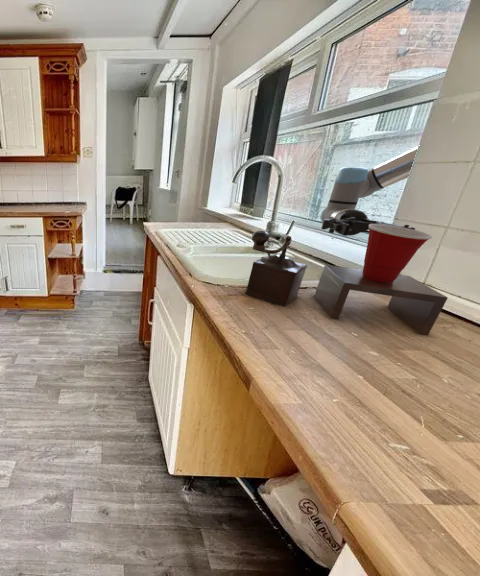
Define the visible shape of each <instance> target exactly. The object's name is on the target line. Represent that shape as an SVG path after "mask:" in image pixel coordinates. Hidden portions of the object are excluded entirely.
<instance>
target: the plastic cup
mask: <svg viewBox="0 0 480 576" xmlns="http://www.w3.org/2000/svg"><path fill="white" fill-rule="evenodd" d="M368 228H370V229H369V230H368V231H369V233H368V237H367V245H366V250H365V254H364V261H363V268H362V270H363V277H365V278H368V279H371V280H374V281H379V282H385V283H392V282H394V280H396V278H397V277H398V275H401V273H402V271H403V270H404V269H405V268H406V266H407V265H408V264H409V263H410V261H411V260H412V259H413V257H414V256H415V255H416V253H417V252H418V250H420V249H421V247H422V246H423V245H424V244H425V243H426V242H427V241H429V240H431V239H432V238H433V235H432V234H429V233H428V232H425V231H420V230H417V229H415V230H413V229H408V228H403V227H398V226H392V225H384V224H369V227H368Z"/></svg>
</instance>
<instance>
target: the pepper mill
mask: <svg viewBox="0 0 480 576" xmlns="http://www.w3.org/2000/svg"><path fill="white" fill-rule="evenodd" d="M251 240H252V242H253V245H252V250H254V251H256V252H261V253H264V254H267V255H265V256H261V257H260V258H258V259H257V260H255V261H253V262H252V267H251V271H250V274H249V278H248V281H247V286H246V290H245V291H244V294H245V295H247V296H249V297H252V298H254V299H257V300H261V301H263V302H267V303H270V304H273V305H276V306H277V305H278V306H281V307H288V306H289V305H290V304H291V303H292V302H293V301H295V300H296V298H297V297H298V294H299V291H300V288H301V285H302V282H303V279H304V276H305V273H306V270H307V267H308V265H307V264H305V263H301V262H295V261H294V259H292V258H291V257H288V256H287V255H286V253H287V250H288V247H289V246H290V244H291V241H292V236H291V235H286V237H285V238H284V241H283V243H282V245H281V246H280V247H279V248H277V249H267V248H266V246H265V244H266V242H268V241H269V240H270V234H269V232H266V231H265V230H257V231H254V232H253V233H252V234H251ZM280 252H281V253H280Z"/></svg>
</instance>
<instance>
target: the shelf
mask: <svg viewBox="0 0 480 576" xmlns="http://www.w3.org/2000/svg"><path fill="white" fill-rule="evenodd" d="M350 291H354V292H362V293H368V294H375V295H382V296H388V297H390V300H389V303H388V305H387V308H388V310H390V311H391V312H393V314H395V315H396V316H397V317H398V318H399V319H401V320H402V321H403V322H405V323H406V325H408V326H410V328H412V329H413V330H414V331H415V332H417V333H418V334H419V335H425V336H429V335H430V333H431V330H432V329H433V327H434V325H435V324H436V321H437V320H438V317H439V316H440V313H442V310H443V308H444V306H445V304H446V302H447V301H448V299H449V297H448V296H446V295H444V294H442V293H440V292H439V291H437V290H435V289H434V288H432V287H430V286H428V285H427V284H425V283H423V282H421V281H420V280H417V279H415V278H414V277H412V276H411V275H406V274H399V275H398V277H397V278H396V280H394V282H392V283H385V282H379V281H374V280H371V279H368V278H365V277H363V269H361V268H360V269H359V268H352V267H344V266H338V265H329V264H324V267H323V269H322V272H321V275H320V278H319V280H318V284H317V286H316V289H315V292H314V297H315V299H316V300H317V301H318V303H319V304H320V305H321V307H322V308H323V309H324V310H325V312H326V313H327V315H328V317H329V318H331V319H335V320H339V319H340V316H341V313H342V312H343V309H344V306H345V304H346V301H347V298H348V297H349V293H350Z"/></svg>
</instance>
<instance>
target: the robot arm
mask: <svg viewBox="0 0 480 576" xmlns="http://www.w3.org/2000/svg"><path fill="white" fill-rule="evenodd" d="M417 149H418V146H416V147H414V148H412V149H411V150H408V151H406V152H403V153H402V154H400V155H398V156H396V157H394V158H391V159H390V160H387V161H385V162H383V163H381V164H379V165H376V166H375V167H373V168H371V169H368V168H367V167H356V166H355V167H353V166H351V167H350V166H349V167H348V166H344V167H341V168H339V171H338V172H337V175H336V177H335V179H334V183H333V188H332V190H331V194H330V197H329V200H328V203H327V205H326V207H325V208H324V209H323V210H322V211H321V214H320V220H321V223H322V225H321V228H320V229H321V230H324V231H325V230H328V229H329V230H328V234H334V232H335V233H338V234H339V235H341V236H343V237H347V236H355V235H358V234H361V233H366V234H369V229H370V228H368V227H369V224H384V225H392V226H398V227H403V228H408V229H413V230H417V229H416V227H412V226H411V227H410V225H409V224H404V225H400V224H393V223H390V222H389V223H388V222H385V221H379V220H373V219H370V218H369V217H368V215H367V214H366V213H365V212H364V211H362V210H359V209H356V207H357V204H358V202H359V199H363V198H367V197H370V196H372V195H373V194H374V193H375V192H378V191H380V190H383V189H384V188H386V187H387V188H388V187H389V186H392V185H395V184H397V183H398V182H401V181H403V180H405V179H408V178H409V177H408V176H409V173H410V170H411V167H412V164H413V161H414V158H415V155H416V152H417Z"/></svg>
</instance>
